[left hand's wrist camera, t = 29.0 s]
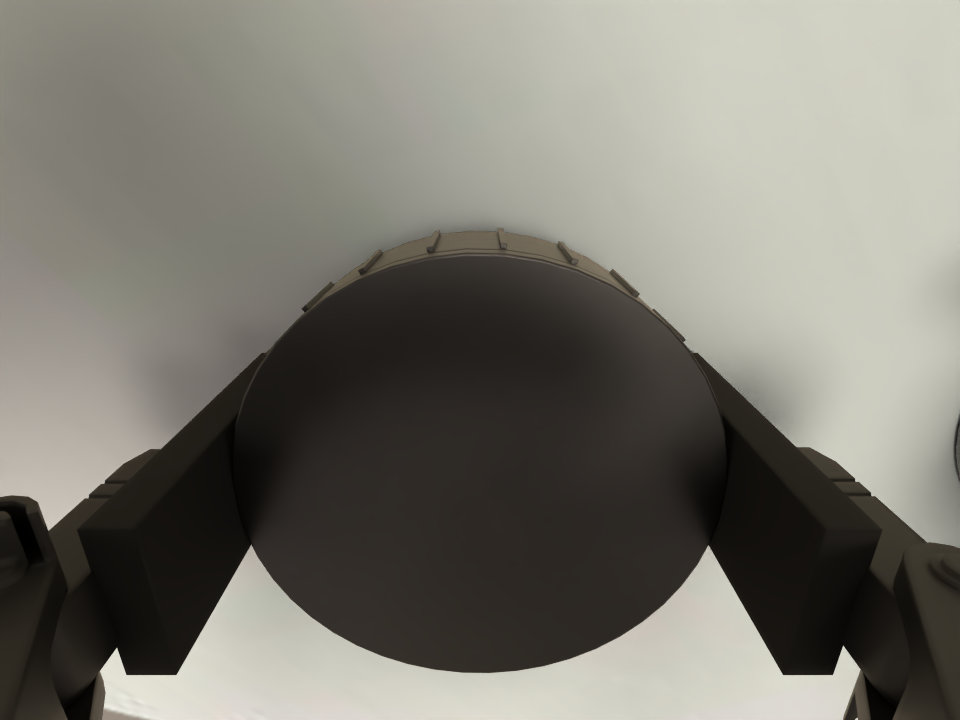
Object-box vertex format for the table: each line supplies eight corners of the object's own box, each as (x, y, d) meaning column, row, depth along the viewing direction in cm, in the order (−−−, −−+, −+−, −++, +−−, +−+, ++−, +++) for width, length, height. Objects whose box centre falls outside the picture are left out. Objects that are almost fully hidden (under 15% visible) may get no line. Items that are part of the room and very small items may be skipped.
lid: (613, 618, 14) (636, 703, 12) (261, 559, 14) (218, 638, 11) (752, 283, 11) (819, 317, 9) (292, 180, 10) (241, 190, 8)
